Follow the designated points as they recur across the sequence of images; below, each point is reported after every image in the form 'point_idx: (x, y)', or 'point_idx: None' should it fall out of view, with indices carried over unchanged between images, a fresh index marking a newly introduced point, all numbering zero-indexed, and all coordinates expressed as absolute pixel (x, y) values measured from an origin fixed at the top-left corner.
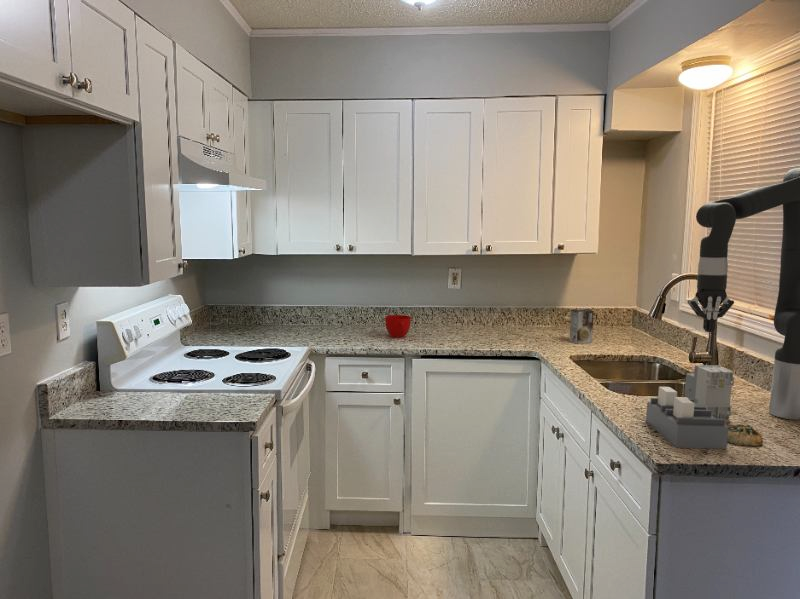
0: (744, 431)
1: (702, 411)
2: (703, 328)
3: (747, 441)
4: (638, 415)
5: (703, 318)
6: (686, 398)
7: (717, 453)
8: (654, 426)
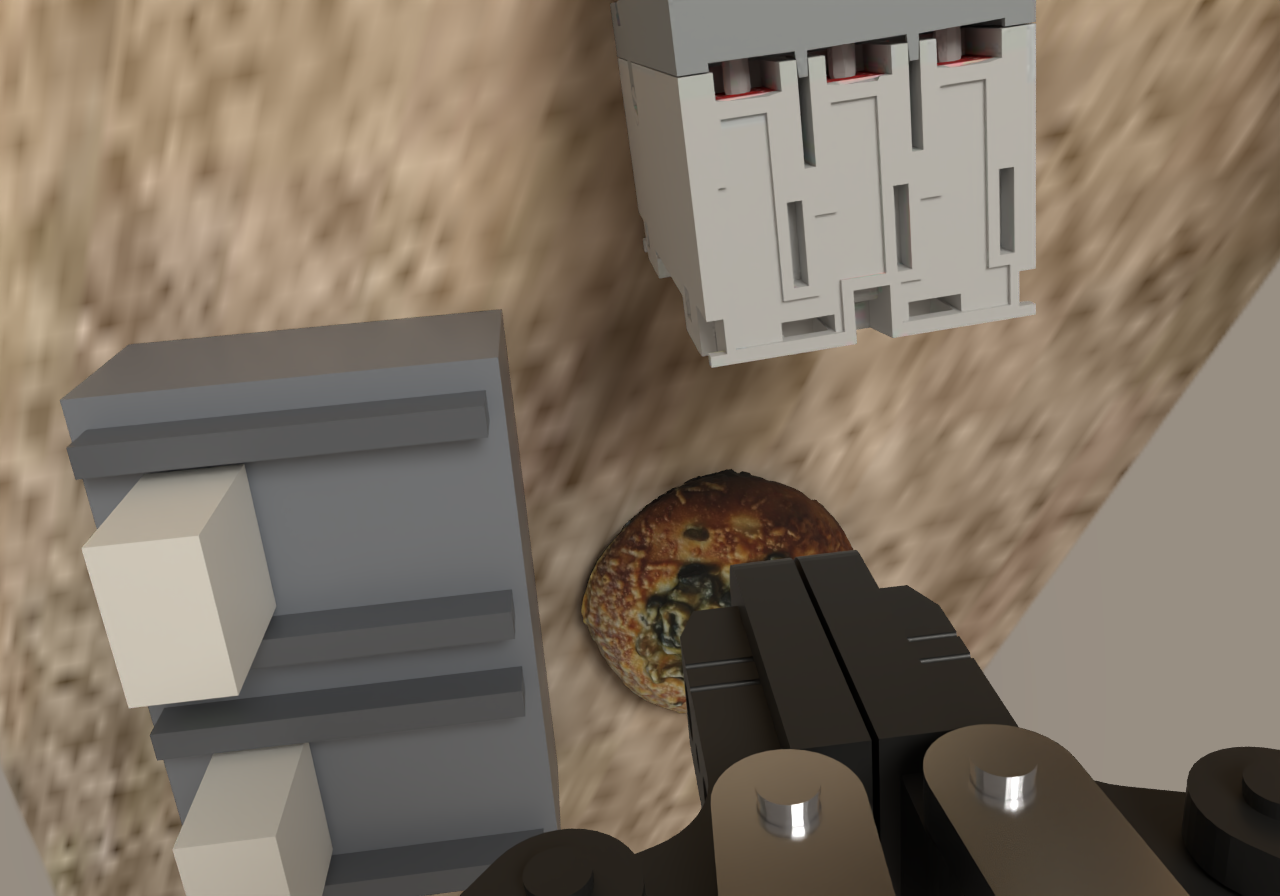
0: None
1: (452, 722)
2: (685, 630)
3: None
4: (83, 199)
5: (698, 831)
6: (274, 859)
7: None
8: None
